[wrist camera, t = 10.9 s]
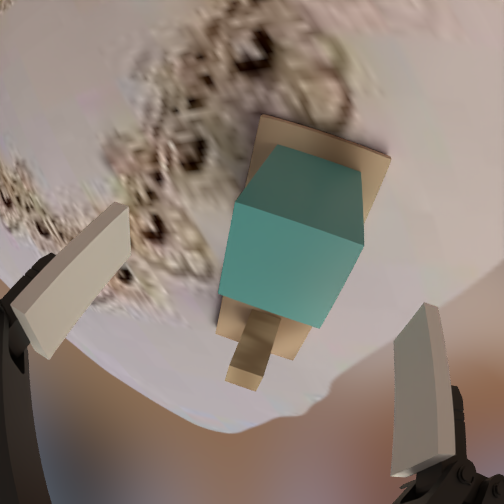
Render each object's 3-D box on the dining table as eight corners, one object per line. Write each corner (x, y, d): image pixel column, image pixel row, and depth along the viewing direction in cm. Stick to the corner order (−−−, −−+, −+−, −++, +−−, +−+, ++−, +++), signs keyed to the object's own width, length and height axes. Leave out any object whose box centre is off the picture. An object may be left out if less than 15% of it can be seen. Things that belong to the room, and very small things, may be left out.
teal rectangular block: (259, 215, 21) (217, 293, 15) (277, 144, 18) (235, 201, 12) (333, 240, 21) (319, 328, 15) (360, 172, 18) (364, 245, 12)
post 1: (217, 329, 31) (192, 382, 26) (229, 271, 26) (197, 331, 21) (294, 355, 30) (278, 413, 25) (322, 303, 25) (309, 370, 20)
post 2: (239, 221, 23) (203, 280, 18) (263, 113, 18) (224, 144, 13) (345, 257, 22) (339, 326, 17) (390, 156, 17) (406, 206, 12)
